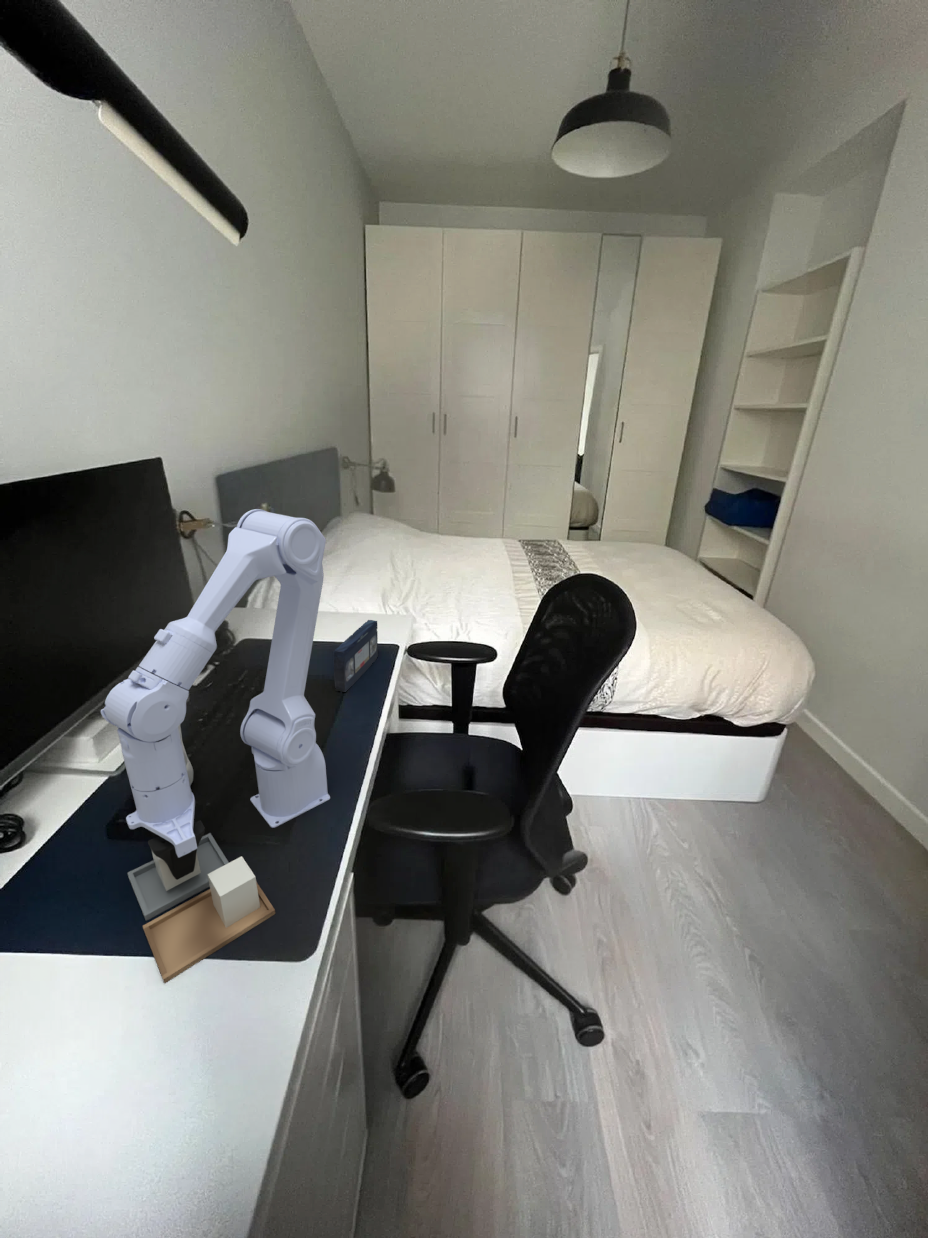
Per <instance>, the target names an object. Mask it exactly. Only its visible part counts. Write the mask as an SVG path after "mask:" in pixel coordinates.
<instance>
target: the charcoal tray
mask: <svg viewBox="0 0 928 1238" xmlns="http://www.w3.org/2000/svg"><path fill="white" fill-rule="evenodd" d="M197 857H198V861H199V866H200V871H201V873H200V874H198V875H196V876H194V877H192V878H190V879H188V880H186V881H184V882H183V883H181V884H179V885H177V886H175V887H173V888H171V889H169V890H167V891H166V889H165V887H164V885H163V883H162V881H161V879H160V876H159V874H158V872H157V870H156V866H155V862H154V859H152V860H151V861H149V862H147V863H144V864H142V865H141V866H139V867H136V868H134V869H131V870H130V871H128V872H127V876H128V879H129V882H130V884H131V887H132V890H133V892H134V894H135V897H136V900H137V902H138V904H139V907H140V909H141V911H142V915H143V917H144V919H145V921H146V922H147V921H149V920H151V919H153V918H154V917H157V916H158V915H160V914H162V913H165V911H166V912H167V910H169V909H172V907H175V906H177V905H178V904H180V903H182V902H184V901H186V900H187V899H189V898H191V897H193V896H195V895H197V894H198V893H201V892H202V891H204V890H206V889H208V888H210V884H209V879H208V874H209V873H211V872H213V871H215V870H217V869H218V868H220V867H222V866H224V865H226V864H228V863H230V862H229V860H228V859H227V858H226V856H225V854H224V853H223V851H222V849H221V847H220V846H219V845H218V843H217V841H216V840H215V838H214V837H213V835H212V833H211V832H209V833H207V834H204V835H203V837H202V839H201V840H200V842H199V845H198V848H197Z"/></svg>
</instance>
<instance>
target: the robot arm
mask: <svg viewBox="0 0 928 1238" xmlns="http://www.w3.org/2000/svg"><path fill="white" fill-rule="evenodd" d="M326 541H327V540H326V538H325V536H324V534H323V533H322V532H321V531H320V529H319V528H318V526H317V525H316V524H315V522H313V521H312V520H311V519H308V518H305V517H295V516H289V515H285V514H281V513H274V512H271V511H270V512H269V511H267V510H264V509H259V508H255V509H251V510H249V511H247V512H245V513H243V515H242V516H240V519H239V520H238V522H237V524H236V526H235V527H234V528H233V529H232V530H231V531H230V532H229V534H228V537H227V548H226V552H225V553H224V554H223V556H222V558H220V559H221V560H220V561H219V562H218V564H217V566H216V568H215V569H214V571H213V573H212V575H211V576H210V578H209V579H208V580H207V581H208V582H206V584H205V586H204V588H203V589H202V590H201V593H200V594H199V595H198V597H197V599H196V601H195V603H194V604H193V606H192V608H191V609H190V611H189V613H188V615H187V616H186V617H183V618H180V619H176V620H173V621H170V622H168V623H167V625H166V627H165V628H164V629H162V628H160V629H159V630H158V631H157V633H156V634H155V635H154V637H153V638H154V640H155V642H154V643H153V645H152V646H151V648H150V649H149V650H148V652H147V653H146V655H145V656H144V657H143V659H142V661H141V662H140V663H139V665H138V666H137V667H136V668H135V670H132V671H131V672H130V674H129V675H128V678H127V679H123V681H121V682H119V683H118V684H116V685H115V686H114V687H113V688H112V689H111V690H110V691H109V693H108V694H107V696H106V699H105V701H104V705H105V706H104V708H102V709H100V714H101V716H102V718H103V719H104V720H105V721H106V722H108V723H109V724H111V725H113V726H115V727H117V730H116V731H117V737H118V739H119V740H118V741H119V743H120V748H121V754H122V758H123V762H124V766H125V769H126V774H127V777H128V780H129V785H130V788H131V792H132V797H133V800H134V801H133V802H134V805H135V808H136V810H135V811H134V812H132V813H129V814H128V815H127V816H125V820H126V823H127V824H126V825H127V826H128V828H129V829H130V830H135V829H137V828H138V829H139V828H140V827H142V828H145V829H146V830H147V831H148V832H149V833H150V834H151V836H152V837H153V838H151V839H148V840H147V844H148V846H149V848H150V850H151V853H152V852H153V853H154V854H155V855H156V856H157V857H159V858H161V859H162V860H164V861H165V863H166V864H167V865H168V867H169V869H170V871H171V873H172V875H173V876H174V878H175V879H176V880H178V879H180V878H182V877H184V876H186V875H188V874H190V873H192V872H193V871H194V868H195V861H196V853H197V848H198V845H199V842H200V840H201V839H202V837H203V836H205V833H206V831H205V830H206V828H205V826H204V823H203V821H202V820H201V819H200V820H197V821H195V820H194V819H195V809H196V808H195V807H196V799H195V795H194V793H193V792H192V789H191V785H190V783H189V778H188V773H187V768H186V764H185V759H184V754H183V749H182V743H181V739H180V734H179V729H178V726H179V725H180V726H181V724H182V723H183V722H184V720H185V717H186V715H187V714H186V713H187V699H188V698H189V694H190V691H189V690H190V689H191V687H192V686H193V684H194V683H195V681H196V680H197V679H198V677H199V675H200V674H201V673H202V671H203V669H204V668H205V666H206V665H207V663H208V662H209V660H210V659H211V657H212V656H213V654H214V653H215V651H216V650H217V648H218V645H217V641H216V640H217V638H216V631H217V630H218V628H220V626H221V625H222V623H223V622H224V621H225V620H226V619H227V617H228V616H229V615H230V613H231V612H232V611H233V609H234V608H235V607H236V606H237V604H238V603H239V601H241V599H242V598H243V597H244V596H245V595H246V593H247V592H248V590H249V589H250V588H251V586H252V585H253V584H254V583H255V581H257V580H261V579H265V578H270V577H275V579H276V580H277V581H278V583H279V584H280V587H279V588H280V589H279V592H278V593H279V594H278V601H277V606H276V613H275V619H274V626H273V629H272V631H273V633H272V638H271V643H270V652H269V657H268V663H267V669H266V674H265V675H266V676H265V679H264V680H265V681H264V688H263V691H262V692H261V693H259V694H258V695H256V696H254V697H253V698H251V699H250V701H249V707H248V711H247V713H246V715H245V716H244V718H243V720H242V722H241V725H240V729H239V730H240V731H239V732H240V733H239V734H240V737H241V740H242V741H243V743H244V744H246V745H248V746H250V747H251V754H253V757H254V765H255V767H254V768H255V772H256V773H255V774H256V781H257V787H258V793H257V794H256V795H253V796H251V797H250V802H251V803H252V804H253V806H254V807H255V809H257V812H259V814H260V816H262V817H263V819H264V820H265V821H266V823H267V825H269V827H270V828H272V829H273V828H274V829H275V828H277V827H279V826H281V825H283V824H284V823H286V822H288V821H291V820H292V819H294V818H296V817H298V816H301V815H302V814H304V813H306V812H307V811H310V810H311V809H314V808H315V807H317V806H319V805H321V804H323V803H325V802H327V801H329V800H330V799H331V796H330V794H329V793H328V779H327V769H326V768H327V767H326V765H327V764H326V760H325V757H324V754H323V752H322V750H321V748H320V747H319V745H318V744H317V742H316V741H317V732H316V729H315V718H316V713H315V712H314V710H313V708H312V706H311V705H310V703H309V702H308V701H307V699H306V697H305V690H306V685H307V684H306V683H307V678H308V672H309V666H310V659H311V655H312V648H313V644H314V638H315V637H314V636H315V631H316V625H317V619H318V612H319V609H320V608H319V607H320V602H321V601H320V600H321V594H322V589H323V584H324V568H323V561H324V560H323V559H324V553H325V549H326V543H327V542H326Z"/></svg>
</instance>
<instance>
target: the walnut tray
mask: <svg viewBox="0 0 928 1238" xmlns="http://www.w3.org/2000/svg"><path fill="white" fill-rule="evenodd" d="M256 883H257V890H258V897H259V903H260V908H258V909H256V910H255V911H253V912H252V913H250V914H248V915H247V916H245V917H243V918H242V919H240V920H238V921H237V922H235V923H233V924H232V925H230V926H228V927H227V928H226V927H225V925H224V923H223V921H222V919H221V918H220V916H219V914H218V912H217V910H216V908H215V907H214V905H213V900H212V895H211V890H210V888H209V889H207V890H205V891H204V892H200V894H198V895H196V896H194V897H193V898H191V899H189V900H187V901H185V902H183V903H182V904H179V905H178V906H176V907H175V908H171V909H170V910H169V911H166V912H164V913H163V914H162V915H160V916H158V917H156V918H154V919H152V920H151V921H149V922H146V923H145V924H143V925H142V929H143V932H144V934H145V936H146V937H145V938H146V940H147V943H148V945H149V947H150V950H151V952H152V955H153V958H154V961H155V963H156V966H157V968H158V971H159V973H160V976H161V978H162V981H163V983H164V984H166V983H168V982H170V981H171V980H172V979H175V978H176V977H177V976H179V975H181V974H183V973H184V972H185V971H186V970H188V969H190V968H192V967H194V966H195V965H196V964H198V963H200V962H202V961H203V960H204V959H206V958H208V957H209V956H211V955H213V954H214V953H216V952H217V951H219V950H220V949H222V948H223V947H225V946H226V945H228V944H231V943H232V942H233V941H235V940H236V939H237V938H239V937H241V936H242V935H244V934H246V933H247V932H249V931H250V930H252V929H253V928H255V927H257V926H259V925H260V924H262V923H264V922H265V921H266V920H268V919H270V918H271V917H273V916H274V915H275V914H276V910H275V908H274V906H273V905H272V903H271V902H270V900H269V899H268V897H267V896H266V893H264V890H263V889H262V888H261V887H260V884H258V882H257V881H256Z"/></svg>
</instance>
